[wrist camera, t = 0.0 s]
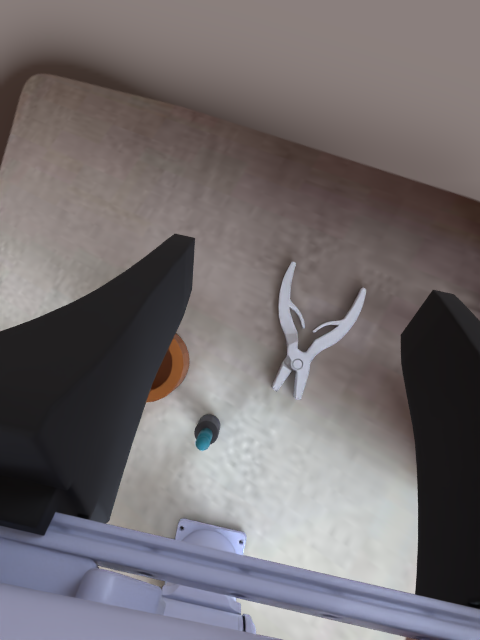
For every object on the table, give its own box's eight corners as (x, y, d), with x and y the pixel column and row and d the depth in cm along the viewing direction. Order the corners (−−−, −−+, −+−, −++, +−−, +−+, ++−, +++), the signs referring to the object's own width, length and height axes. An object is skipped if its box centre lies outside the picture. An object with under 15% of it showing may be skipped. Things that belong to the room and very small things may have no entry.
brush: (217, 438, 43) (212, 461, 35) (196, 433, 43) (185, 455, 35) (222, 416, 43) (218, 434, 35) (200, 412, 43) (191, 428, 35)
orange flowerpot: (180, 402, 43) (173, 409, 38) (113, 387, 43) (98, 393, 38) (196, 334, 43) (190, 334, 39) (129, 320, 43) (116, 317, 39)
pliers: (371, 289, 42) (326, 411, 41) (366, 290, 44) (323, 408, 43) (291, 259, 42) (245, 380, 41) (289, 262, 44) (245, 378, 43)
